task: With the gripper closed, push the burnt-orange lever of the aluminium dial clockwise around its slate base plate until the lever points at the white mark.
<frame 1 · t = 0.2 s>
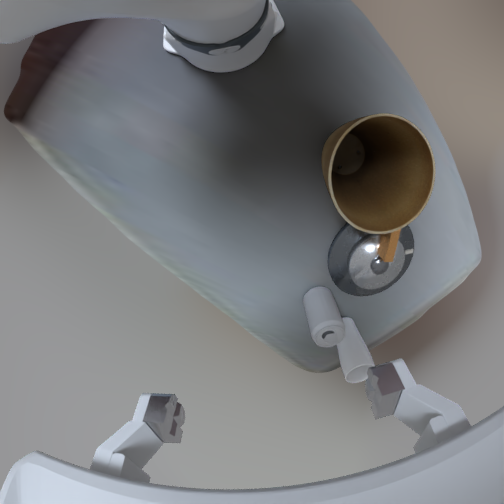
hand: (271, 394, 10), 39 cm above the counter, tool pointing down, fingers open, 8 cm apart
dial: (381, 257, 48), point 4 cm above the counter, hinge at 170.0°
beverage can: (316, 295, 57), on the counter
plant pot: (344, 152, 43), on the counter
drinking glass: (342, 323, 62), on the counter
dial plate: (372, 254, 52), on the counter
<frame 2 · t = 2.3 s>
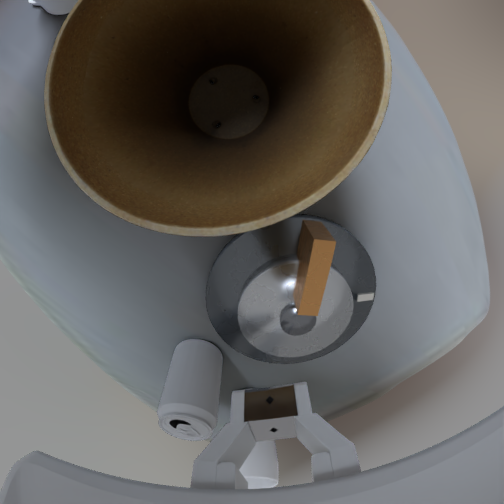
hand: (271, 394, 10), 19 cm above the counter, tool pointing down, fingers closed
dial: (301, 305, 26), point 4 cm above the counter, hinge at 170.0°
beverage can: (199, 352, 34), on the counter
plant pot: (230, 99, 23), on the counter
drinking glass: (251, 395, 38), on the counter
dial plate: (292, 297, 31), on the counter
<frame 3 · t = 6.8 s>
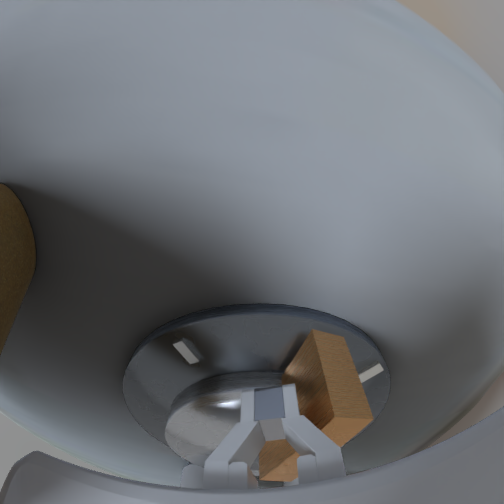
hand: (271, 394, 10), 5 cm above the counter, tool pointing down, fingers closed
dial: (268, 447, 13), point 4 cm above the counter, hinge at 122.5°, touching gripper
beverage can: (212, 467, 23), on the counter
plant pot: (3, 231, 13), on the counter
dial plate: (256, 408, 18), on the counter
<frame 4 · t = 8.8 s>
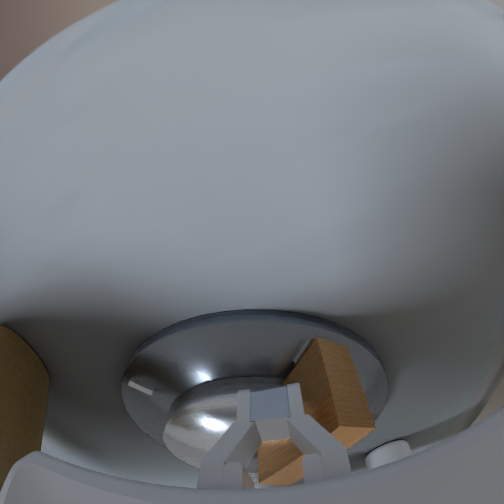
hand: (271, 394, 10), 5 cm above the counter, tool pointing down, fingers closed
dial: (266, 451, 13), point 4 cm above the counter, hinge at 87.0°, touching gripper
plant pot: (19, 353, 17), on the counter
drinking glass: (385, 448, 23), on the counter
dial plate: (254, 412, 18), on the counter
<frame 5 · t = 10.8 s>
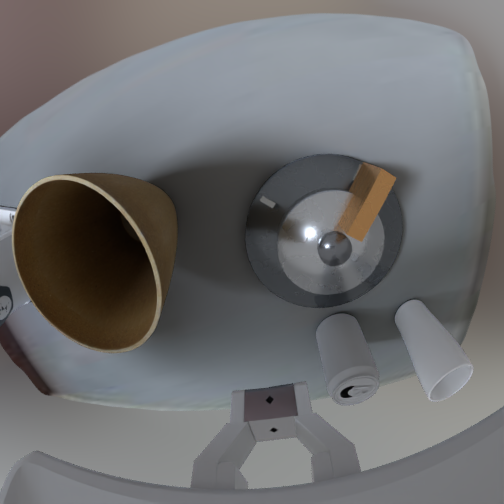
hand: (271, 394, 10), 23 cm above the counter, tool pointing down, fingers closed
dial: (343, 235, 28), point 4 cm above the counter, hinge at 86.7°
beverage can: (336, 327, 38), on the counter
plant pot: (147, 212, 32), on the counter
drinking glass: (408, 311, 37), on the counter
dial plate: (326, 235, 32), on the counter
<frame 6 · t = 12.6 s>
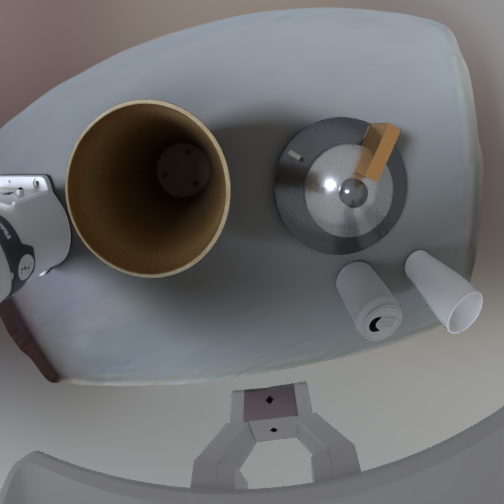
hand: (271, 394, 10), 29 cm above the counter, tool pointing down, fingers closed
dial: (359, 180, 31), point 4 cm above the counter, hinge at 86.7°
beverage can: (353, 277, 42), on the counter
plant pot: (182, 168, 35), on the counter
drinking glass: (415, 262, 41), on the counter
dial plate: (343, 186, 36), on the counter
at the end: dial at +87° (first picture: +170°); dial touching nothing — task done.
